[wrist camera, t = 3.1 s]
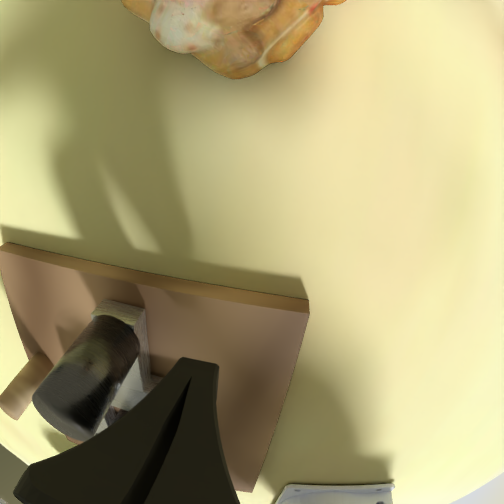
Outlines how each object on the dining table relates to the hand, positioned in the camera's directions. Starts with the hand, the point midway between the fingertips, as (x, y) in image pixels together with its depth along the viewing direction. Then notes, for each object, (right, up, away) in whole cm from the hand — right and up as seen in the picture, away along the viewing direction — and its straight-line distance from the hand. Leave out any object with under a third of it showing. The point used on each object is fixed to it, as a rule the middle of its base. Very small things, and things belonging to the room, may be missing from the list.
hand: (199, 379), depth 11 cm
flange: (-4, -3, +4) cm, 7 cm away
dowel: (-11, -2, +6) cm, 12 cm away
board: (-5, -4, +6) cm, 9 cm away
